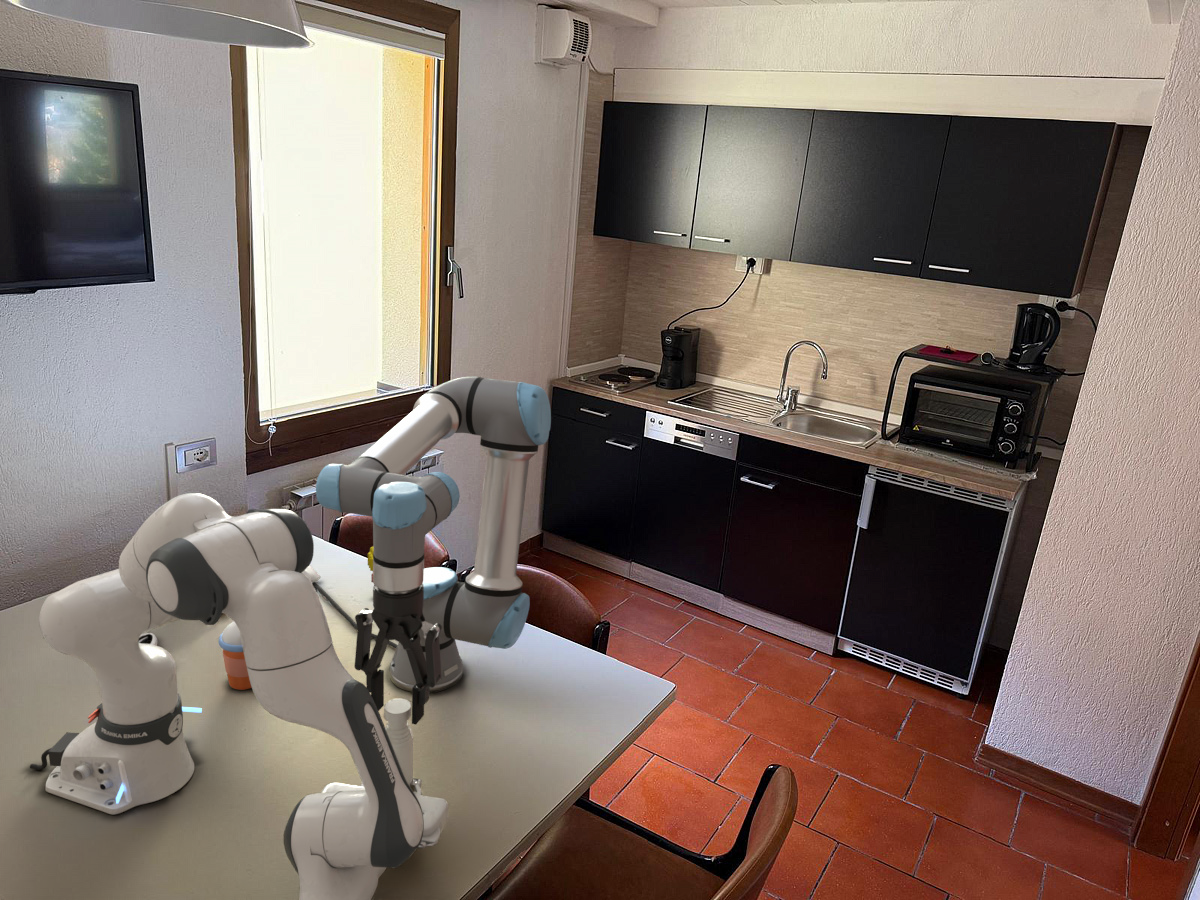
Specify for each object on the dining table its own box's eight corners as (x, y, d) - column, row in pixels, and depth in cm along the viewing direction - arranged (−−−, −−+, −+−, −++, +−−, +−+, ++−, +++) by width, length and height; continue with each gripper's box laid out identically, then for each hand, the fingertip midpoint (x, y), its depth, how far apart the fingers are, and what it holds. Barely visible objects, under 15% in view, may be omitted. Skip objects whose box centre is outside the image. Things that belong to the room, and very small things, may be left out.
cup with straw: (252, 697, 169) (248, 616, 164) (211, 689, 171) (206, 608, 166) (278, 673, 178) (275, 596, 172) (238, 666, 179) (234, 588, 174)
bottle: (406, 800, 145) (407, 698, 139) (416, 819, 141) (418, 714, 135) (377, 809, 143) (377, 705, 137) (386, 829, 139) (387, 722, 133)
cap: (411, 707, 139) (411, 697, 138) (410, 723, 135) (410, 713, 134) (385, 708, 138) (385, 698, 137) (383, 724, 134) (383, 714, 134)
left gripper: (435, 832, 126) (460, 772, 139) (302, 812, 128) (339, 754, 141) (434, 867, 128) (459, 804, 141) (303, 846, 130) (340, 786, 143)
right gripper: (467, 585, 131) (463, 715, 138) (354, 562, 135) (355, 689, 142) (446, 606, 124) (443, 742, 131) (328, 581, 128) (330, 714, 135)
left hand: (398, 779), depth 141 cm, fingers closed on bottle, 5 cm apart
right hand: (397, 714), depth 136 cm, fingers open, 6 cm apart
